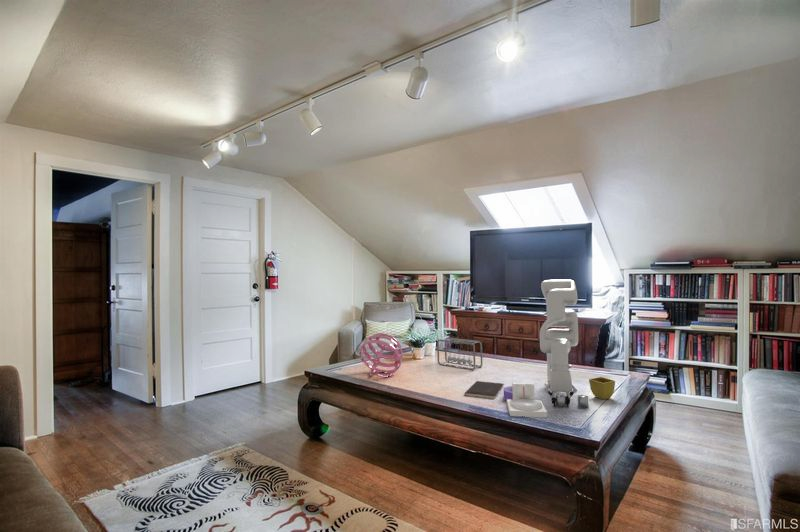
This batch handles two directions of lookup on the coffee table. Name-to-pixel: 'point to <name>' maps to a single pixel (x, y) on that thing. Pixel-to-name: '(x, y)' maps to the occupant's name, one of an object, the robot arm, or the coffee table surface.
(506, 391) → the tape roll
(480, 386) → the hardcover book
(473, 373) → the coffee table surface
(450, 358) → the newton's cradle
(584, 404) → the cylinder
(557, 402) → the cylinder
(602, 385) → the flower pot
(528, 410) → the scale
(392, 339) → the pink openwork sphere sculpture
